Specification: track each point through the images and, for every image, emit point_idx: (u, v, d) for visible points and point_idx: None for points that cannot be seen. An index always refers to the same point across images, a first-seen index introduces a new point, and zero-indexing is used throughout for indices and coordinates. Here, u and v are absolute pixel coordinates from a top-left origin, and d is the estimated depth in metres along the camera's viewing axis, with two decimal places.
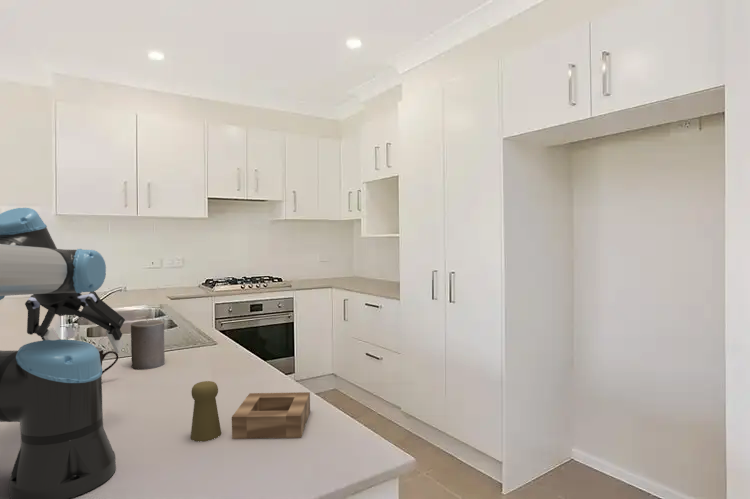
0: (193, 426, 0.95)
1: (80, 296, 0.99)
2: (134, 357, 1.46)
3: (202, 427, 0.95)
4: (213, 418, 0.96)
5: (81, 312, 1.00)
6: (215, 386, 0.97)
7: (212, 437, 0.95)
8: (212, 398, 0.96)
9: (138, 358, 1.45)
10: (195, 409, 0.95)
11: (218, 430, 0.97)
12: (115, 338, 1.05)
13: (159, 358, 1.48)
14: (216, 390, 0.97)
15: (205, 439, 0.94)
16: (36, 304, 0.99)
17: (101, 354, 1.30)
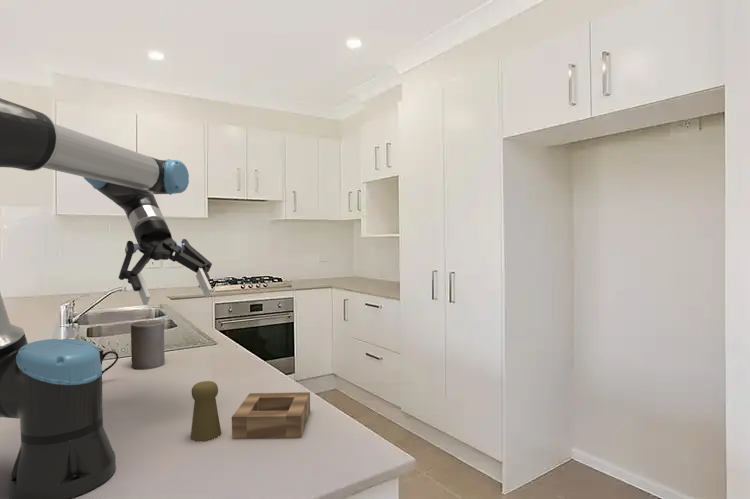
0: (193, 426, 0.95)
1: None
2: (134, 357, 1.46)
3: (202, 427, 0.95)
4: (213, 418, 0.96)
5: None
6: (215, 386, 0.97)
7: (212, 437, 0.95)
8: (212, 398, 0.96)
9: (138, 358, 1.45)
10: (195, 409, 0.95)
11: (218, 430, 0.97)
12: None
13: (159, 358, 1.48)
14: (216, 390, 0.97)
15: (205, 439, 0.94)
16: None
17: (101, 354, 1.30)
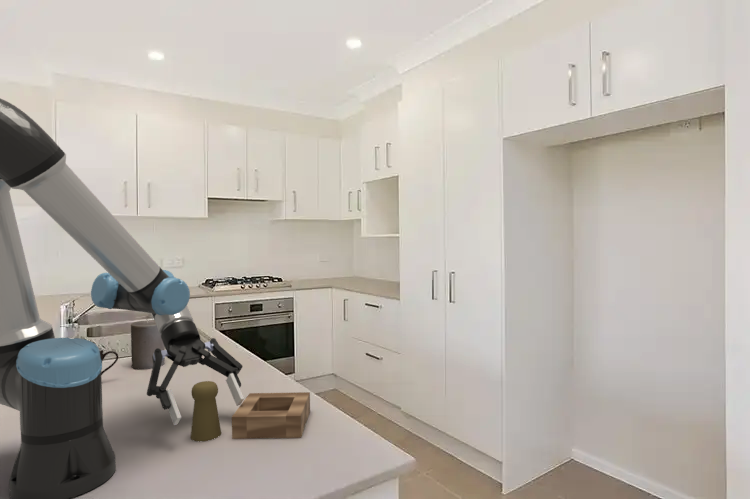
0: (193, 426, 0.95)
1: None
2: (134, 357, 1.46)
3: (202, 427, 0.95)
4: (213, 418, 0.96)
5: None
6: (215, 386, 0.97)
7: (212, 437, 0.95)
8: (212, 398, 0.96)
9: (138, 358, 1.45)
10: (195, 409, 0.95)
11: (218, 430, 0.97)
12: None
13: None
14: (216, 390, 0.97)
15: (205, 439, 0.94)
16: None
17: (101, 354, 1.30)
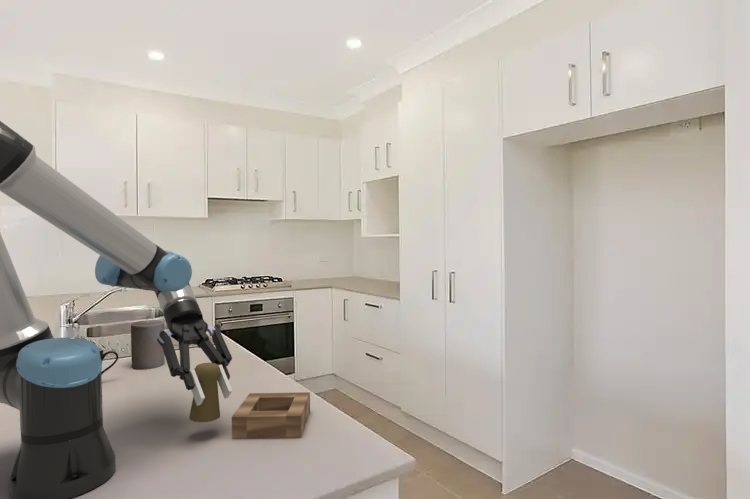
0: (193, 406, 0.95)
1: None
2: (134, 357, 1.46)
3: (202, 408, 0.94)
4: (214, 400, 0.96)
5: None
6: (218, 368, 0.97)
7: (211, 419, 0.95)
8: (214, 379, 0.96)
9: (138, 358, 1.45)
10: None
11: (218, 412, 0.97)
12: (225, 375, 0.99)
13: (159, 358, 1.48)
14: (218, 372, 0.97)
15: (204, 420, 0.94)
16: None
17: (101, 354, 1.30)
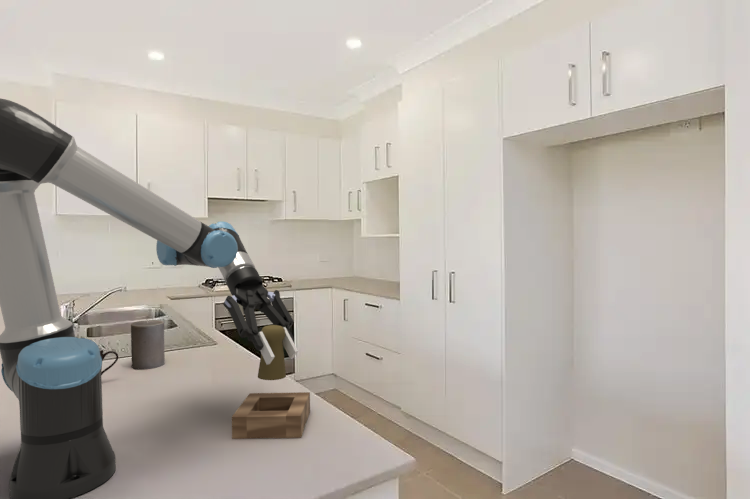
0: (261, 366, 1.00)
1: None
2: (134, 357, 1.46)
3: (270, 367, 0.99)
4: (281, 359, 1.00)
5: None
6: (283, 329, 1.01)
7: (279, 377, 1.00)
8: (280, 340, 1.00)
9: (138, 358, 1.45)
10: None
11: (284, 371, 1.01)
12: None
13: (159, 358, 1.48)
14: (284, 333, 1.01)
15: (273, 378, 0.99)
16: None
17: (101, 354, 1.30)
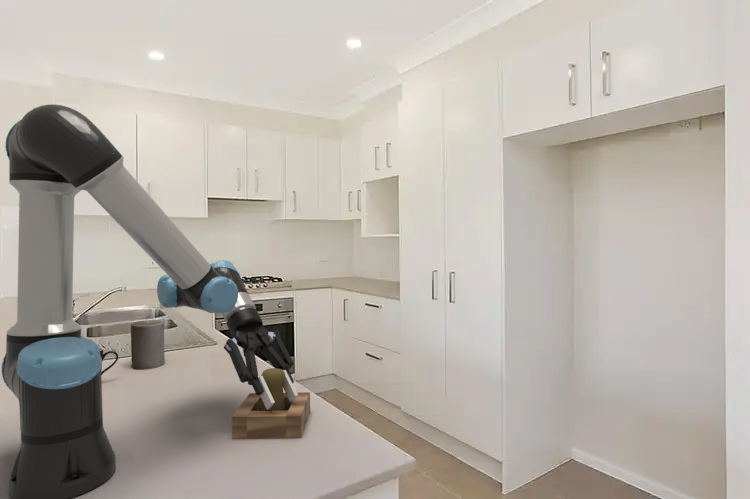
0: (261, 410, 1.00)
1: None
2: (134, 357, 1.46)
3: None
4: (281, 403, 1.01)
5: None
6: (283, 373, 1.02)
7: None
8: (280, 384, 1.01)
9: (138, 358, 1.45)
10: None
11: None
12: None
13: (159, 358, 1.48)
14: (284, 377, 1.01)
15: None
16: None
17: (101, 354, 1.30)
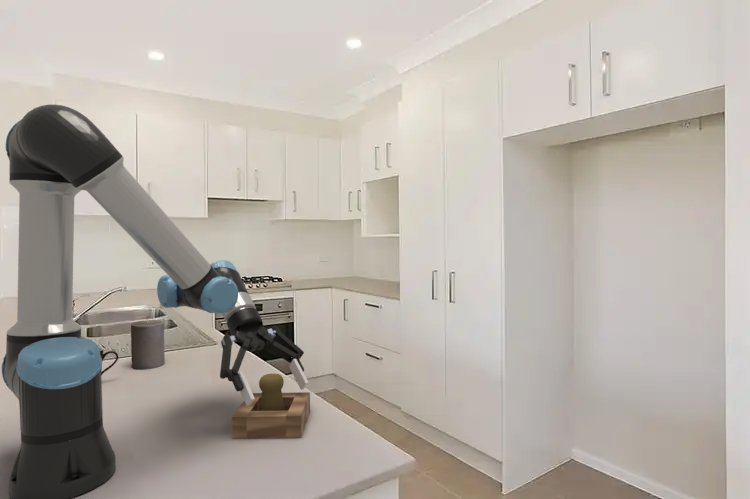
0: None
1: None
2: (134, 357, 1.46)
3: None
4: (280, 408, 1.01)
5: None
6: (281, 378, 1.01)
7: None
8: (279, 389, 1.00)
9: (138, 358, 1.45)
10: (263, 400, 1.00)
11: None
12: None
13: (159, 358, 1.48)
14: (282, 382, 1.01)
15: None
16: None
17: (101, 354, 1.30)
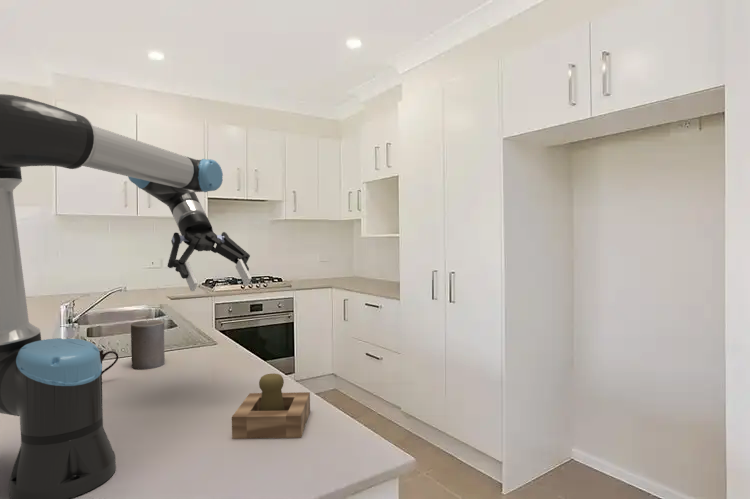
0: None
1: None
2: (134, 357, 1.46)
3: None
4: (280, 408, 1.01)
5: None
6: (281, 378, 1.01)
7: None
8: (279, 389, 1.01)
9: (138, 358, 1.45)
10: (263, 400, 1.00)
11: None
12: (245, 268, 1.17)
13: (159, 358, 1.48)
14: (282, 382, 1.01)
15: None
16: None
17: (101, 354, 1.30)
